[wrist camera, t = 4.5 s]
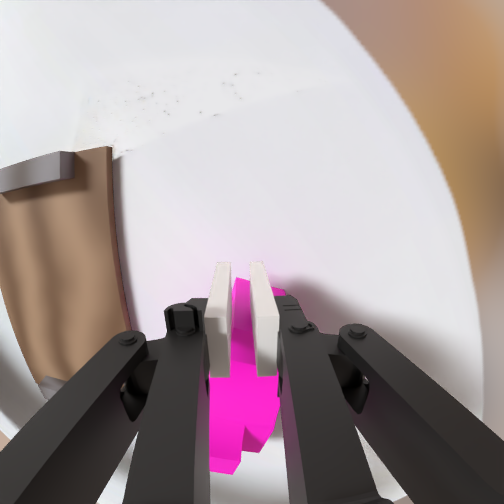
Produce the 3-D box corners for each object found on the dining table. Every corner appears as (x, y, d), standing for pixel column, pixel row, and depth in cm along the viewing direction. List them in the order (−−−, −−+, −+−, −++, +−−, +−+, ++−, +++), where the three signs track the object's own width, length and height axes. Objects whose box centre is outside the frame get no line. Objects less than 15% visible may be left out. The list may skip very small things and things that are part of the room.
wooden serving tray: (39, 378, 23) (28, 392, 20) (-8, 177, 17) (-27, 179, 14) (151, 402, 24) (144, 422, 21) (112, 147, 18) (93, 143, 15)
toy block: (256, 420, 25) (260, 477, 18) (197, 408, 24) (188, 467, 17) (313, 296, 21) (343, 350, 14) (236, 276, 21) (233, 327, 13)
